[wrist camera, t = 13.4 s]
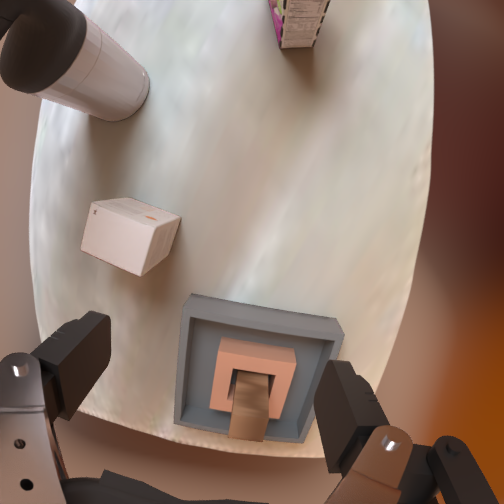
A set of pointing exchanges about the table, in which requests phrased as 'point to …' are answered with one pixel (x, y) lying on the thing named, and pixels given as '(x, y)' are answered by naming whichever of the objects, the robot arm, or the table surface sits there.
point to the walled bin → (251, 363)
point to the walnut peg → (249, 406)
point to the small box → (129, 234)
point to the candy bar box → (298, 21)
